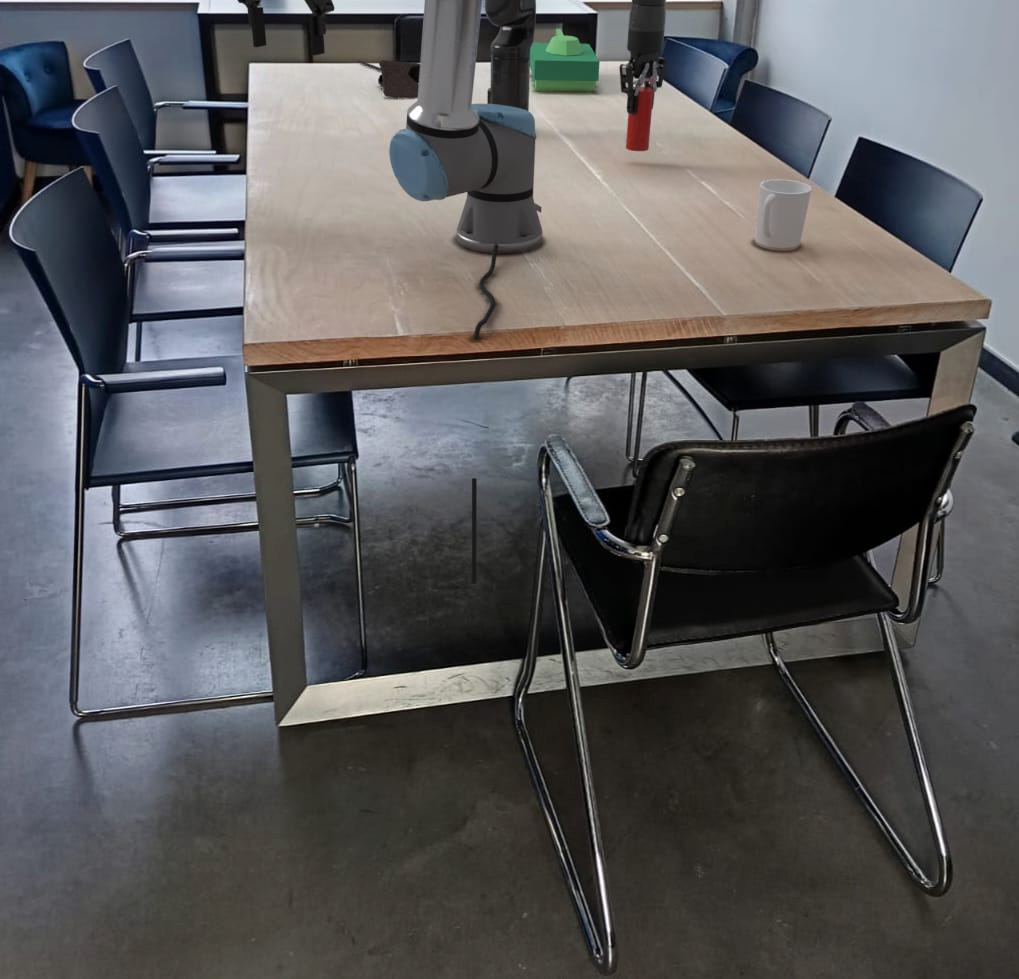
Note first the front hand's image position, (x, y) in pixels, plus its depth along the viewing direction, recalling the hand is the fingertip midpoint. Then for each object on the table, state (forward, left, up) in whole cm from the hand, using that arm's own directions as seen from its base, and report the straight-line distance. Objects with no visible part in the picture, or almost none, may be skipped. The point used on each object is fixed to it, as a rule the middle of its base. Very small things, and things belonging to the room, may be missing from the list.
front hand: (288, 50), depth 200 cm
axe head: (+102, +1, -28) cm, 105 cm away
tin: (+40, -64, -24) cm, 80 cm away
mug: (-11, -90, -28) cm, 95 cm away
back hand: (+40, -64, -16) cm, 78 cm away
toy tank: (+125, -40, -28) cm, 134 cm away
